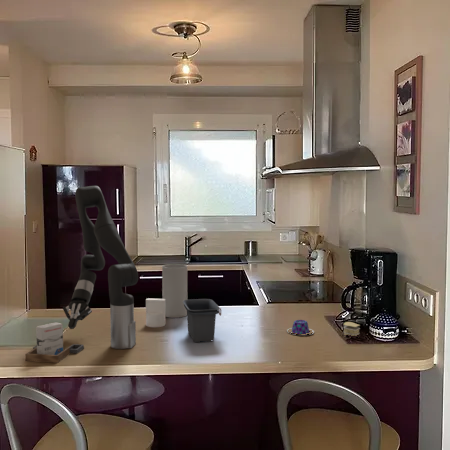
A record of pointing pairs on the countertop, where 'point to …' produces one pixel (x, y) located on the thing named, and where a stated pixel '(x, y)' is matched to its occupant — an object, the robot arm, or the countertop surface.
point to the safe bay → (46, 356)
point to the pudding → (300, 327)
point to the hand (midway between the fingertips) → (71, 328)
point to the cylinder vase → (174, 289)
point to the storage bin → (201, 318)
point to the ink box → (49, 338)
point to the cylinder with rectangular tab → (155, 312)
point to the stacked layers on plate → (351, 329)
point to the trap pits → (73, 348)
